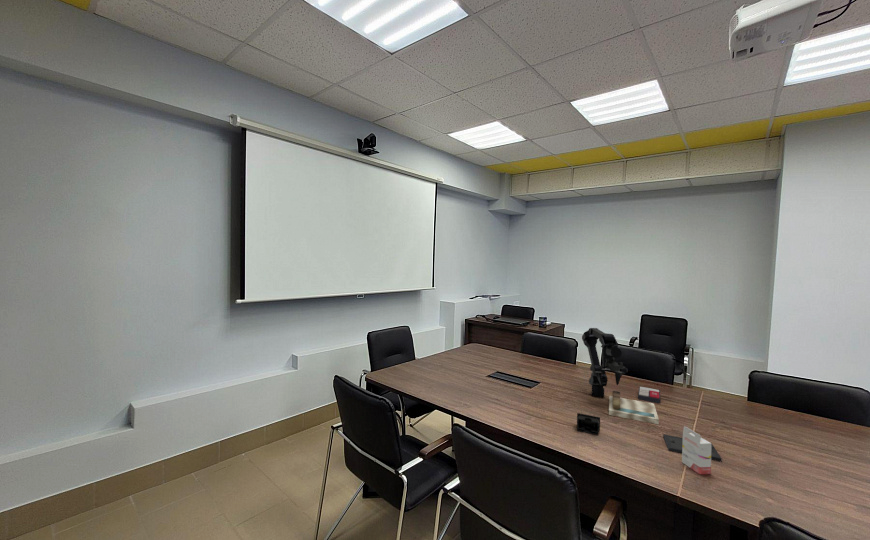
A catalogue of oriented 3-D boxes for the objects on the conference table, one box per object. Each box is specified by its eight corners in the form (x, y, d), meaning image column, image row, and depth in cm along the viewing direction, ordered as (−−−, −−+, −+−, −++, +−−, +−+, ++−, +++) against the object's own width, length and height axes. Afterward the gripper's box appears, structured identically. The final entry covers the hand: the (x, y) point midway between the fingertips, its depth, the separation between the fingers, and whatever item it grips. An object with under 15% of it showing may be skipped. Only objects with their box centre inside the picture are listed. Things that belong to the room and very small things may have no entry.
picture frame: (711, 447, 149) (663, 438, 156) (711, 442, 149) (663, 433, 156) (721, 463, 137) (668, 452, 144) (721, 457, 137) (668, 446, 144)
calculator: (638, 393, 201) (639, 385, 214) (637, 401, 202) (638, 392, 214) (660, 398, 195) (660, 389, 208) (660, 405, 196) (659, 396, 208)
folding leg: (620, 410, 178) (620, 401, 178) (612, 408, 180) (612, 400, 180) (619, 398, 195) (620, 390, 195) (612, 397, 197) (612, 389, 197)
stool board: (608, 414, 179) (608, 409, 179) (609, 400, 199) (609, 395, 199) (658, 424, 169) (658, 419, 169) (653, 408, 189) (653, 403, 189)
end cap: (599, 429, 163) (600, 415, 163) (599, 435, 156) (600, 421, 156) (577, 424, 167) (577, 410, 167) (576, 430, 161) (576, 416, 161)
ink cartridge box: (711, 474, 128) (713, 435, 128) (699, 475, 128) (700, 435, 127) (692, 461, 136) (693, 425, 136) (681, 461, 136) (682, 425, 136)
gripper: (598, 357, 186) (600, 387, 183) (632, 358, 186) (634, 387, 184) (589, 355, 197) (590, 383, 194) (621, 356, 197) (622, 384, 195)
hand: (609, 384), depth 192 cm, fingers open, 9 cm apart
